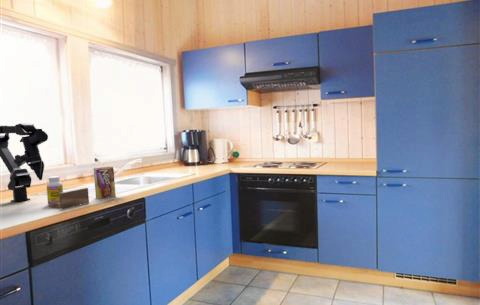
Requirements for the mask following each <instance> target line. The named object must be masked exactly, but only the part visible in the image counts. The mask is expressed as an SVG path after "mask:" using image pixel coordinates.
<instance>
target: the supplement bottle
mask: <svg viewBox="0 0 480 305" xmlns="http://www.w3.org/2000/svg"><path fill="white" fill-rule="evenodd" d="M60 180H61V177H60V176H58V175H57V176H55V175H54V176H49V177H48V182H47V184H46V196H47V198H46V199H47V204H48V205H49V203H51V202H53V203H60V195H59V193H63V192H64V187H63V182H61V181H60Z"/></svg>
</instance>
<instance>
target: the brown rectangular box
mask: <svg viewBox="0 0 480 305" xmlns="http://www.w3.org/2000/svg"><path fill="white" fill-rule="evenodd" d="M59 195H60V203H53V202H51V203H49V204H48V208H50V209H59V208H61V209H60V210H65V208H66V209H69V207H70V208H72V207H73V206H74V207H78V206H80V204H82V205H85V204H84V203H86V204H90V197H89V188H88V187H84V188H79V189H73V190H68V191H63V193H59ZM77 205H78V206H77Z"/></svg>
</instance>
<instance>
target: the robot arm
mask: <svg viewBox="0 0 480 305" xmlns="http://www.w3.org/2000/svg"><path fill="white" fill-rule="evenodd" d="M2 134H4V135H2ZM9 134H15V135H17V136H21V138H20V140H19V142H20V143H22V144H23V147H24V154H22V155H19V154H16V155H15V156H13V154H12V152H11V151H10V149H9V140H10V135H9ZM48 140H49V135H48V134H47V132H46V131H44V130H43V128H37V127H36V126H35V124H34V123H31V122H30V123H17V124H15V125H0V159H1V160H2V162H3V164H4V165H5V167H6V168H7V170H8V172H9V174H10V176H9V182H8V184H7V190H10V191H12V196H13V197H12V198H13V199H11V200H9V201H10V202H15V203H18V202H20V203H21V202H25V201H30V200H31V198H30V197H29V198H28V191H27V188H31V184H32V177H31V174H30V173H29V171H28V169H27V168H21V167H22V165H24V164H27V166H28V167H29V168H30V170H32V171H33V172H34V174H35V176H36V178H37V179H38V180H39V181H42V180H43V176H44V172H45V162H44V161H43V160H42V156H41V154H40V149H39V145H41V144H44V143H45V142H47V141H48Z"/></svg>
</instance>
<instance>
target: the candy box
mask: <svg viewBox="0 0 480 305" xmlns="http://www.w3.org/2000/svg"><path fill="white" fill-rule="evenodd" d="M114 170H115V169H114V166H103V167H102V166H101V167H93V177H94V179H93V180H94V191H95V198H96V199H97V198H98V200H99V199H107V198H113V197H116V195H117V194H116V184H115V182H116V180H115V171H114ZM106 197H107V198H106Z"/></svg>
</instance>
